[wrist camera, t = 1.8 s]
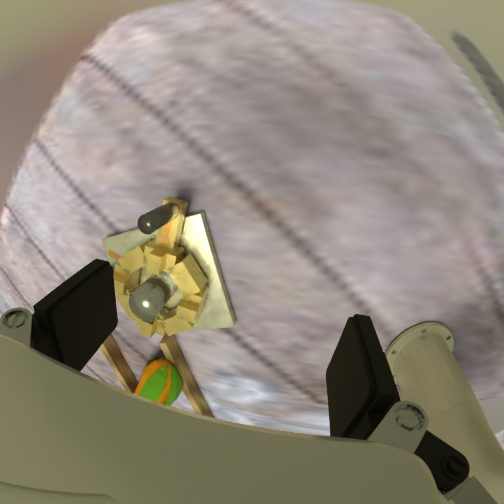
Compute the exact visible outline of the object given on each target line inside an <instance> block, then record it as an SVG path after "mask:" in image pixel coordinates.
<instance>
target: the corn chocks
mask: <svg viewBox="0 0 504 504" xmlns="http://www.w3.org/2000/svg"><path fill="white" fill-rule="evenodd" d="M159 345H160V347H161V349H162V351H163V353H164V355H165V357H166V359H167V360H168V361H169V362H170V363H173V364H174V365H175V366H176V368H177V369H178V371H179V373H180V374H179V373H178V375H179V376H180V375H181V376H180V378H181V380H182V381H181V382H182V390H183V391H184V393H185V395H186V397H187V399H188V400H189V402H190V404H191V406H192V407H193V409H194V411H195V413H196V414H200V415H204V416H208V417H212V418H214V416H213V414H212V412H211V410H210V408H209V407H208V405H207V403H206V401H205V399H204V397H203V395H202V393H201V391H200V389H199V387H198V385H197V383H196V381H195V379H194V377H193V375H192V373H191V371H190V369H189V367H188V365H187V362H186V360H185V358H184V356H183V354H182V352H181V349H180V347H179V345H178V343H177V341H176V338H175V336H174V335H171V336H168V335H167V333H166V334H165V335H164V337H163V338H162V340H161V341H160V343H159ZM100 347H101V349H102V351H103V353H104V355H105V356H106V358H107V360H108V362H109V363H110V365H111V367H112V368H113V370H114V372H115V373H116V375H117V377H118V378H119V380H120V382H121V383H122V385H123V386H124V388H125V389H126V391H127V392H130V393H133V394H134V393H135V391H136V388H137V386H138V381H137V380H136V378H135V376H134V375H133V373H132V371H131V370H130V368H129V366H128V364H127V363H126V361H125V359H124V357H123V355H122V354H121V352H120V350H119V348H118V346H117V344H116V342H115V340H114V338H113V336H112V335H109V336H108V338H107V339H106V340H105V341H104V343H103V344H102V345H101V346H100Z"/></svg>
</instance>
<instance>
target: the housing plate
mask: <svg viewBox="0 0 504 504" xmlns="http://www.w3.org/2000/svg"><path fill="white" fill-rule="evenodd" d="M157 231H158V230H156V231H155V232H153V233H152V234H149V235H146V234H144V233H142V232H141V231H140V230H139V228H136V229H133V230H129V231H125V232H122V233H118V234H115V235H111V236H107V237H106V238H104V239H102V242H103V245H104V248H105V251H106V254H107V256H108V259H109V262H110V264H111V266H112V267H113V272H115V264H116V263H117V262H119V261H118V259H119V258H120V257H122V256H123V255H125V254H126V253H128V252H129V251H131V250H132V249H134V248H135V247H137V246H139V245H140V244H142V243H143V242H145V241H147V240H148V239H151V241H152V240H154V239H155V238H156V237H157ZM179 246H180V247H183V248H185V252H184V256H185V255H187V254H189V253H191V254H192V256H193V257H194V259H195V261H196V262H197V264H198V266H199V267H200V269H201V271H202V272H203V274H204V275H205V277H206V279H207V280H208V281H207V282H206V284H205V285H206V286H209V287H208V291H207V295H206V299H205V303H204V307H203V311H202V313H201V315H200V317H199V319H198V321H197V323H196V324H194V326H193V327H192V328H190V329H188V330H185V331H192V330H205V329H216V328H226V327H234V326H235V323H236V318H235V315H234V312H233V309H232V306H231V302H230V299H229V296H228V293H227V289H226V286H225V283H224V279H223V276H222V273H221V269H220V266H219V263H218V259H217V256H216V252H215V249H214V245H213V242H212V238H211V235H210V231H209V228H208V224H207V221H206V217H205V214H204V212H199V213H195V214H191V215H187V216H185V218H184V223H183V228H182V232H181V237H180V242H179ZM138 285H139V286H140V287H138V288H137V289H136V290H135V291H134V292H133V293H132V294H131V295H130V297H129V307H130V309H131V311H132V312H133V313H134V315H135V316H137V317H138V318H140V319H142V320H145V321H151V320H153V319H155V318H156V316H157V315H158V314H159V313H160V311H161V310H162V309H163V308H166V309H168V310H171V309H174V308H176V307H178V304H179V303H180V301H181V300H182V296H183V294H182V292H181V291H180V289H179V288H178V286H177V285H176V283H175V282H174V280H173V278H172V277H171V275H170V274H169V273H168V272H165V271H163V272H162V273H161V274H160V275H159V276H158V275H155V274H153V273H150V272H147V265H145V266H143V267H141V268H140V273H139V282H138ZM134 322H135V324H136V326H137V328H138V331H139V333H140V332H141V326H139V325H137V319H135V320H134Z"/></svg>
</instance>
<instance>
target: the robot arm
mask: <svg viewBox="0 0 504 504" xmlns="http://www.w3.org/2000/svg"><path fill="white" fill-rule="evenodd" d="M33 307H34V311H35V313H34V314H32V313H31V312H30V311H29V310H28V309H26V308H13V309H10V310H8V311H6V312H5V313H4V314H3V315H2V316H1V318H0V504H504V450H503V448H502V447H501V445H500V443H499V442H498V440H497V438H496V436H495V435H494V433H493V431H492V429H491V427H490V425H489V423H488V421H487V419H486V417H485V415H484V413H483V410H482V409H481V406H480V404H479V402H478V400H477V398H476V396H475V394H474V392H473V390H472V388H471V386H470V385H469V383H468V381H467V379H466V377H465V375H464V373H463V372H462V370H461V368H460V366H459V364H458V363H457V361H456V359H455V357H454V356H453V354H452V352H453V348H454V338H453V336H452V333H451V332H450V330H449V329H448V328H447V327H446V326H445V325H443V324H440V323H436V322H427V323H422V324H419V325H416V326H414V327H412V328H410V329H408V330H406V331H405V332H403V333H402V334H401V335H399V336H398V337H397V338H396V339H395V340H394V341H393V342H392V344H391V345H390V346H389V348H388V350H387V351H386V353H384V352H383V350H382V348H381V345H380V342H379V339H378V336H377V334H376V331H375V328H374V326H373V323H372V320H371V318H370V316H366V315H359V314H355V315H354V316H353V317H349V318H348V320H347V323H346V325H345V328H344V330H343V333H342V335H341V338H340V340H339V342H338V345H337V347H336V349H335V352H334V354H333V356H332V359H331V361H330V363H329V366H328V368H327V371H326V383H327V394H328V407H329V421H330V436H320V435H310V434H302V433H294V432H287V431H279V430H273V429H266V428H260V427H255V426H249V425H244V424H239V423H234V422H229V421H225V420H220V419H216V418H212V417H208V416H204V415H200V414H196V413H192V412H189V411H185V410H182V409H178V408H175V407H172V406H168V405H165V404H162V403H159V402H156V401H153V400H150V399H147V398H144V397H141V396H138V395H135V394H133V393H130V392H127V391H125V390H122V389H119V388H117V387H114V386H112V385H109V384H107V383H104V382H102V381H100V380H97V379H95V378H93V377H90V376H88V375H86V374H84V373H81V372H80V371H81V370H82V369H83V367H84V366H85V365H86V364H87V362H88V361H89V360H90V359H91V357H92V356H93V355H94V354H95V352H96V351H97V350H98V349H99V347H100V346H101V345H102V344H103V343H104V341H105V340H106V339H107V338H108V336H109V335H110V334H111V333H112V332H113V330H114V329H115V328H116V326H117V323H118V318H117V309H116V298H115V287H114V272H113V267H112V266H111V265H110V263H109V262H108V261H104V260H100V259H95V260H93V261H92V262H91V263H89V264H88V265H86V266H85V267H84V268H82V269H81V270H80V271H78V272H77V273H75V274H74V275H73V276H71V277H70V278H69V279H67V280H66V281H65V282H63V283H62V284H61V285H59V286H58V287H57V288H56V289H54V290H53V291H52V292H50V293H49V294H48V295H47V296H45V297H44V298H43V299H41V300H40V301H39V302H38V303H36V304H35V305H34V306H33ZM396 384H398V385H399V387H400V391H401V394H402V397H403V400H404V401H401V400H400V397H399V394H398V390H397V387H396Z"/></svg>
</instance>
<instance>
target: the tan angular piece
mask: <svg viewBox="0 0 504 504" xmlns="http://www.w3.org/2000/svg"><path fill="white" fill-rule="evenodd" d="M187 205H188V202H186V201H183V200H179V199H176V198H173V197H169V198H166V199H164V200H163V204H162V206H160V207H158V208H156V209H154V210H152V211H150V212H148V213H146V214H144V215H142V216H140V218H139V219H138V228H139V230H140V231H141V232H142V233H144V234H146V235H149V234H152V233H153V232H155V231H156V230H158V231H157V237H156V238H155V239H154V240H152V241H151V239H148V240H147V241H145V242H143V243H142V244H140V245H139V246H137V247H135V248H134V249H132V250H131V251H129V252H128V253H126V254H125V255H123V256H122V257H120V258H119V259H118V261H119V262H117V263H116V264H115V272H114V287H115V292H117V293H118V294H117V295H116V296H115V297H116V298H117V300H118V301H119V303H120V304H121V306H122V307H123V309H124V310H125V312H126V313H127V314H128V316H129V317H130V319H131V320H132V321H133V320H135V319H137V325H139V326H141V332H140V334H142V335H145V336H147V337H149V338H151V337H152V336H153V334H154V333H158V334H160V335H162V336H163V335H164V334H165V332H166V333H167V335H168V336H171V335H174V334H176V333H179V332H182V331H185V330H188V329H190V328H192V327H193V326H194V324H196V323H197V321H198V319H199V317H200V315H201V313H202V311H203V307H204V303H205V299H206V295H207V291H208V287H209V286H206V285H205V284H206V282H207V281H208V280H207V279H206V277H205V275H204V274H203V272H202V271H201V269H200V267H199V266H198V264H197V262H196V261H195V259H194V257H193V256H192V254H191V253H189V254H187V255H185V256H184V252H185V248H183V247H180V246H179V242H180V237H181V232H182V228H183V223H184V218H185V214H186V209H187ZM145 265H147V272H150V273H153V274H155V275H158V276H159V275H160V274H161V273H162V272H163V271H165V272H168V273H169V274H170V275H171V277H172V278H173V280H174V282H175V283H176V285H177V286H178V288H179V289H180V291H181V292H182V294H183V296H182V300H181V301H180V303H179V304H178V307H176V308H174V309H171V310H168V309H166V308H163V309H162V310H161V311H160V313H159V314H158V315H157V316H156V318H155V319H153V320H151V321H145V320H142V319H140V318H138V317H137V316H135V315H134V313H133V312H132V311H131V309H130V307H129V297H130V295H131V294H132V293H133V292H134V291H135V290H136V289H137V288H138V287H140V286H139V285H138V282H139V273H140V268H141V267H143V266H145Z"/></svg>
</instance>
